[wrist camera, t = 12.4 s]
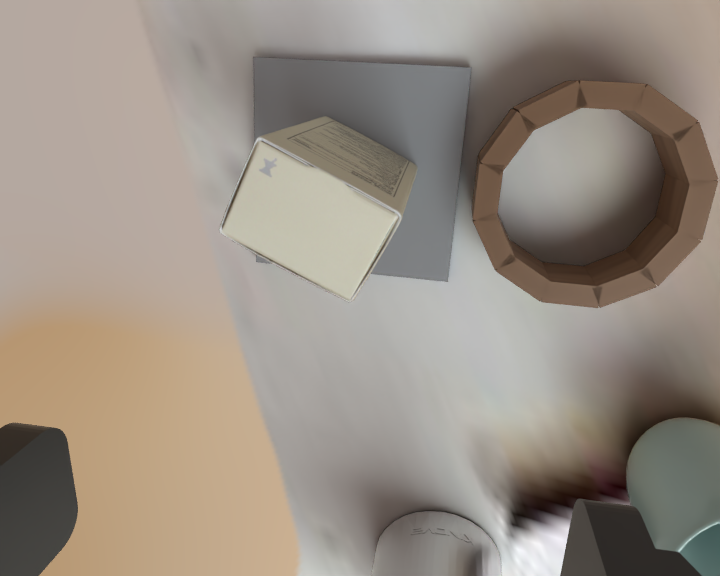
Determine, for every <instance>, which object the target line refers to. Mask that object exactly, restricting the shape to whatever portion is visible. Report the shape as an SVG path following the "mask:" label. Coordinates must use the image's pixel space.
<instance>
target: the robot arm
mask: <svg viewBox="0 0 720 576" xmlns="http://www.w3.org/2000/svg"><path fill="white" fill-rule="evenodd" d="M77 513H78V505H77V498H76V492H75V486H74V479H73V473H72V467H71V461H70V455H69V449H68V442H67V438H66V436H65V434H64V433H63V431H61V430H60V429H57V428H52V427H44V426H37V425H29V424H21V423H10V424H7V425H5V426H3V427H2V428H0V576H39V575H40V574H41V572H42V571H43V570H44V569H45V568H46V567H47V565H48V564H49V563H50V562H51V561H52V560H53V559H54V558H55V556H56V555H57V554H58V553H59V552H60V551H61V550H62V548H63V547H64V546H65V544H66V543H67V541H68V540H69V538H70V536H71V534H72V532H73V529H74V526H75V523H76V519H77ZM371 576H502V570H501V559H500V555H499V552H498V549H497V547H496V545H495V544H494V542H493V541H492V539H491V538H490V537H489V536H488V535H487V534H486V533H485V532H484V531H483V530H482V529H481V528H480V527H478V526H477V525H475V524H474V523H472V522H471V521H469V520H467V519H464V518H462V517H460V516H458V515H454V514H450V513H446V512H437V511H424V512H416V513H412V514H409V515H405V516H403V517H401V518H399V519H397V520H396V521H394V522H393V523H392V524H390V525H389V526H388V527H387V528H386V529H385V530H384V532H383V533H382V535H381V536H380V538H379V541H378V544H377V547H376V552H375V557H374V563H373V568H372V573H371ZM560 576H702V575H701V574H700V573H699V572H698V571H697V570H696V569H695V568H694V567H693V566H692V565H691V564H690V563H689V562H688V561H687V560H686V559H685V558H684V557H683V556H682V555H681V554H680V553H679V552H676V551H668V550H661V549H656V548H655V546H654V544H653V542H652V539H651V537H650V535H649V532H648V530H647V528H646V525H645V523H644V521H643V518H642V516H641V514H640V512H639V511H638V509H637V508H636V507H635V506H629V505H622V504H614V503H607V502H599V501H591V500H584V499H578V500H577V501H576V503H575V505H574V509H573V513H572V518H571V523H570V529H569V534H568V539H567V544H566V549H565V555H564V560H563V565H562V570H561V575H560Z"/></svg>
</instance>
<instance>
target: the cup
mask: <svg viewBox="0 0 720 576" xmlns="http://www.w3.org/2000/svg"><path fill="white" fill-rule="evenodd" d="M626 488H627V493H628V498H629V502H630V505H631V506H635V507H636V508H637V509H638V511H639V512H640V514H641V516H642V518H643V521H644V523H645V525H646V528H647V530H648V532H649V535H650V537H651V539H652V542H653V544H654V546H655V548H656V549H661V550H668V551H676V552H679V553H680V554H681V555H682V556H683V557H684V558H685V559H686V560H687V561H688V562H689V563H690V564H691V565H692V566H693V567H694V568H695V569H696V570H697V571H698V572H699V573H700V574H701V575H702V576H720V425H718V424H716V423H713V422H710V421H706V420H702V419H696V418H689V417H683V418H672V419H667V420H664V421H662V422H659V423H657V424H655V425H654V426H652V427H651V428H649V429H648V430H647V431H646V432H644V433H643V434H642V435H641V436H640V438H639V439H638V440H637V442H636V443H635V445H634V447H633V449H632V451H631V452H630V454H629V458H628V461H627V467H626Z"/></svg>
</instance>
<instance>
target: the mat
mask: <svg viewBox="0 0 720 576" xmlns="http://www.w3.org/2000/svg"><path fill="white" fill-rule="evenodd" d="M253 70H254V136H255V141H256V139H257V138H258V137H260V136H263V135H266V134H269V133H273V132H276V131H279V130H282V129H285V128H288V127H292V126H295V125H298V124H301V123H304V122H308V121H311V120H314V119H317V118H320V117H324V116H327V117H329V118H331V119H333V120H335V121H337V122H339V123H341V124H343V125H345V126H347V127H349V128H351V129H353V130H355V131H357V132H359V133H360V134H362V135H364V136H366V137H368V138H370V139H372V140H373V141H375V142H377V143H379V144H381V145H383V146H384V147H386V148H388V149H390V150H391V151H393V152H395V153H397V154H398V155H400V156H402V157H404V158H405V159H407V160H409V161H410V162H412V163H413V164H415V165H416V166H417V168H418V170H417V173H416V176H415V180H414V182H413V185H412V189H411V192H410V195H409V198H408V201H407V204H406V207H405V210H404V213H403V216H402V220H401V222H400V224H399V226H398V227H397V229H396V231H395V232H394V234H393V236H392V238H391V240H390V241H389V243H388V245H387V247H386V248H385V250H384V252H383V253H382V255H381V257H380V259H379V260H378V262H377V263H376V265H375V267H374V268H373V270H372V272H371V273H370V274H377V275H387V276H397V277H407V278H416V279H426V280H436V281H445V282H448V275H449V266H450V257H451V248H452V239H453V230H454V221H455V212H456V203H457V194H458V185H459V176H460V167H461V158H462V149H463V140H464V131H465V122H466V113H467V104H468V95H469V86H470V77H471V67H450V66H430V65H409V64H389V63H369V62H348V61H328V60H307V59H287V58H267V57H253ZM256 262H261V263H271V262H269V261H267V260H265V259H263V258H261V257H259V256H258V255H256ZM271 264H272V263H271Z"/></svg>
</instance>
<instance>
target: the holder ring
mask: <svg viewBox="0 0 720 576" xmlns="http://www.w3.org/2000/svg"><path fill="white" fill-rule="evenodd" d="M580 108H597V109H615V110H619V111H621V112H622V113H623V114H625V115H626V116H628V117H629V118H630V119H632V120H633V121H635V122H636V123H637V124H639V125H640V126H642V127H643V128H644V129H646V130H647V131H649V132H650V133H651V134H652V137H653V140H654V143H655V146H656V148H657V151H658V154H659V157H660V160H661V162H662V165H663V168H664V171H665V178H664V183H663V187H662V191H661V195H660V199H659V204H658V208H657V212H656V216H655V218H654V219H653V220H652V221H651V222H650V223H649V224H648V225H647V227H646V228H645V229H644V230H643V231H642V232H641V233H640V234H639V235H638V236H637V238H636V239H635V240H634V241H633V242H632V243H631V244H630V245H629V246H628V247H627V249H626V250H624V251H622V252H619V253H616V254H614V255H611V256H609V257H606V258H604V259H601V260H598V261H596V262H593V263H591V264H588V265H586V266H576V265H566V264H556V263H545V262H541V261H540V260H538V259H537V258H535V257H534V256H532V255H531V254H529V253H528V252H527V251H525V250H524V249H522V248H521V247H519V246H518V245H516V244H515V243H514V242H512V241H511V240H509V238H508V235H507V233H506V231H505V228H504V226H503V224H502V222H501V219H500V217H499V215H498V213H497V212H498V205H499V198H500V190H501V183H502V176H503V170H504V169H505V168H506V166H507V165H508V164H509V162H510V161H511V160H512V158H513V157H514V156H515V154H516V153H517V152H518V150H519V149H520V148H521V147H522V145H523V144H524V143H525V141H526V140H527V139H528V137H529V136H530V135H531V133H532V132H533V131H534V130H536V129H538V128H540V127H542V126H544V125H546V124H548V123H550V122H552V121H555V120H557V119H559V118H561V117H563V116H565V115H567V114H569V113H571V112H573V111H576V110H578V109H580ZM513 109H514V110H513ZM513 109H512V108H511V110H510V111H509V113H508V114H507V115H506V117H505V118H504V119H503V121H502V122H501V124H500V125H499V126H498V128H497V129H496V130H495V132H494V133H493V135H492V136H491V137H490V139H489V140H488V141H487V143H486V144H485V146H484V147H483V148H482V150H481V151H480V153H479V155H478V159H477V168H476V176H475V184H474V192H473V201H472V216H473V223H474V225H475V227H476V229H477V231H478V234H479V236H480V238H481V240H482V242H483V245H484V247H485V249H486V251H487V254H488V256H489V258H490V260H491V262H492V265H493V267H494V269H495V270H496V272H498V273H499V274H501V275H502V276H504V277H505V278H507V279H508V280H510V281H511V282H512V283H514V284H515V285H517V286H518V287H520V288H521V289H523V290H524V291H526V292H527V293H528V294H530V295H531V296H533V297H534V298H536V299H537V300H539V301H541V302H546V303H555V304H565V305H574V306H584V307H593V308H598V306H599V307H600V308H601V307H603V306H606V305H609V304H612V303H614V302H617V301H620V300H623V299H625V298H628V297H631V296H634V295H636V294H639V293H642V292H645V291H647V290H650V289H653V288H655V287H656V285H657V286H659V285H660V284H661V283H662V282H663V281H664V280H665V278H666V277H667V276H668V275H669V274H670V273H671V272H672V271H673V270H674V269H675V268H676V267H677V266H678V265H679V264H680V263H681V262H682V261H683V260H684V259H685V258H686V257H687V256H688V255H689V254H690V253H691V252H692V250H693V249H694V248H695V247H696V246H697V245H698V244H699V243H700V242H701V241H700V240H702V239H703V235H704V231H705V227H706V224H707V220H708V216H709V213H710V209H711V205H712V202H713V198H714V194H715V191H716V187H717V183H718V181H717V179H718V177H717V174H716V171H715V168H714V165H713V162H712V159H711V156H710V153H709V150H708V147H707V144H706V141H705V138H704V135H703V132H702V129H701V126H700V123H699V122H697V121H698V120H696V119H695V118H694V117H692V116H691V115H690V114H688V113H687V112H685V111H684V110H683V109H681V108H680V107H678V106H677V105H676V104H674V103H673V102H672V101H670V100H669V99H667V98H666V97H665V96H663V95H662V94H660V93H659V92H658V91H656V90H655V89H653V88H652V87H651V86H649V85H648V84H641V83H621V82H601V81H582V80H578V81H565V82H563V83H561V84H559V85H557V86H555V87H553V88H551V89H549V90H547V91H545V92H543V93H541V94H539V95H537V96H535V97H533V98H531V99H529V100H527V101H524V102H522V103H520V104H518V105H516V106H514V107H513ZM698 239H699V240H698ZM655 284H656V285H655Z"/></svg>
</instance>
